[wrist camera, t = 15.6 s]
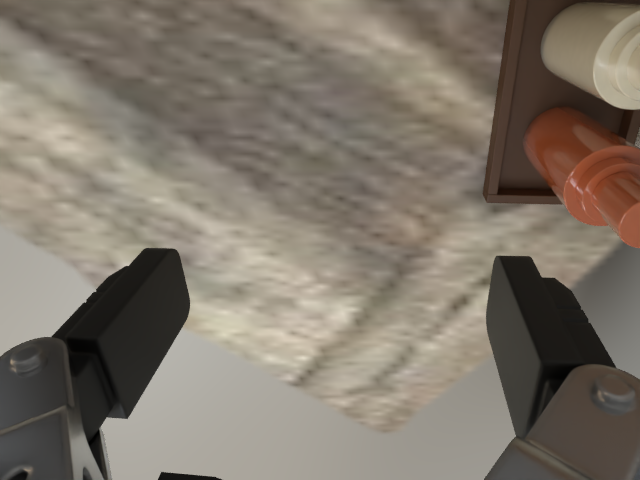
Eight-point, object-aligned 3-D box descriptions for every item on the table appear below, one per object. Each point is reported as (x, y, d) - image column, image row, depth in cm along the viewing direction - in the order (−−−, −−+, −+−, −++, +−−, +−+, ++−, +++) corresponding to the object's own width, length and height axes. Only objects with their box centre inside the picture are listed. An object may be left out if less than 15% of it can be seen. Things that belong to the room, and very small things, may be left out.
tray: (533, -169, 30) (542, -179, 28) (713, -185, 29) (734, -196, 27) (482, 194, 42) (486, 203, 40) (607, 197, 41) (617, 206, 39)
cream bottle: (547, 2, 34) (654, 10, 20) (626, 0, 33) (796, 6, 19) (534, 79, 37) (621, 134, 23) (607, 78, 36) (744, 134, 22)
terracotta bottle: (528, 106, 38) (608, 174, 24) (599, 106, 37) (726, 176, 23) (517, 169, 40) (583, 265, 26) (584, 170, 39) (689, 270, 25)
